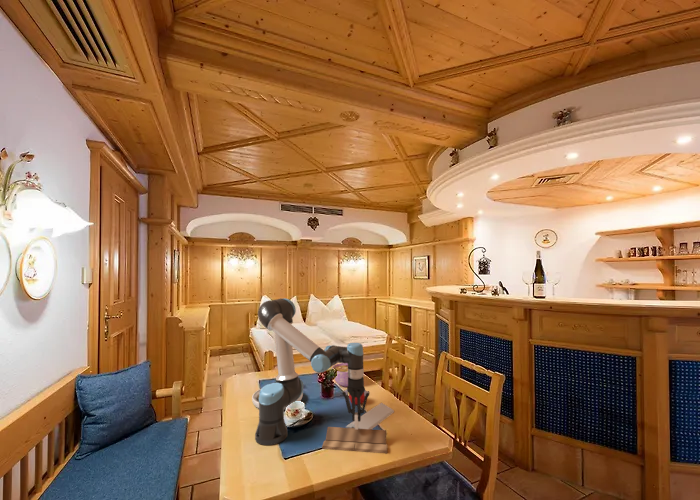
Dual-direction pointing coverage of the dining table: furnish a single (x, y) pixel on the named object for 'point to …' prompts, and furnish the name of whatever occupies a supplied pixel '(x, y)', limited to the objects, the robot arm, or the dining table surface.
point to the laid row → (355, 446)
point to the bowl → (256, 398)
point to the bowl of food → (342, 374)
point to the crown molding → (373, 417)
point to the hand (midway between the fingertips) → (356, 427)
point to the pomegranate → (356, 399)
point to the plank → (356, 435)
